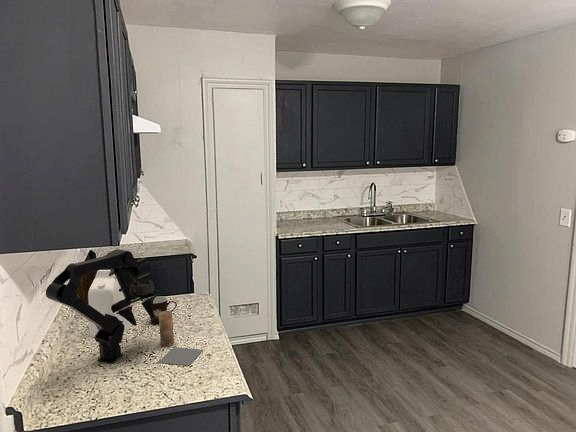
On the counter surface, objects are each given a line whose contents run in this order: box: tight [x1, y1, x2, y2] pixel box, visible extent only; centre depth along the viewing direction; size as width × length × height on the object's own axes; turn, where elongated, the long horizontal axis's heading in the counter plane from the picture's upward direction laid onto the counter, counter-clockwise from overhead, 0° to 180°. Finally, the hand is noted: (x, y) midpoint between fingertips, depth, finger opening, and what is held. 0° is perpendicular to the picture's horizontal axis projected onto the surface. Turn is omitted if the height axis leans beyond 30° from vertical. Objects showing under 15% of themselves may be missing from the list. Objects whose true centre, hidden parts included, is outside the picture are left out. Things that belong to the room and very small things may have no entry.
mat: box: [157, 346, 204, 367], centre depth 164 cm, size 12×12×1 cm
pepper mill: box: [158, 310, 175, 348], centre depth 173 cm, size 5×5×12 cm
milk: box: [87, 269, 132, 337], centre depth 186 cm, size 12×12×26 cm
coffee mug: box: [149, 295, 178, 326], centre depth 195 cm, size 12×9×10 cm
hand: (144, 321), depth 165 cm, fingers open, 9 cm apart
